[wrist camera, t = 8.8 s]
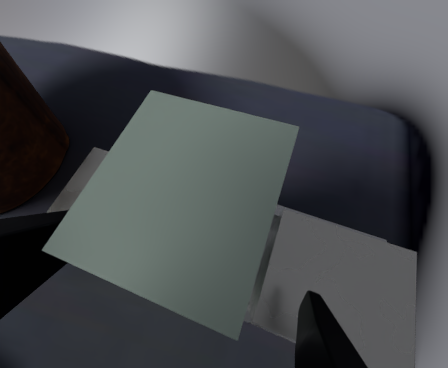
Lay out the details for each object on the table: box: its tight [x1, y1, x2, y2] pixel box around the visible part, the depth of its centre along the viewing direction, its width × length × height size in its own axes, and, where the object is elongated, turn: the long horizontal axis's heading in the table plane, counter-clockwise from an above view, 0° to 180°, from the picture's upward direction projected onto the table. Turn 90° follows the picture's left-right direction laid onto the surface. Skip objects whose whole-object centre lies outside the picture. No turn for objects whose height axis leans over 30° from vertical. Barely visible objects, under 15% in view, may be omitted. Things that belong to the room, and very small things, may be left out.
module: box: [42, 90, 299, 341], centre depth 11 cm, size 5×4×12 cm
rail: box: [46, 147, 417, 368], centre depth 15 cm, size 8×21×6 cm, turn 69°
